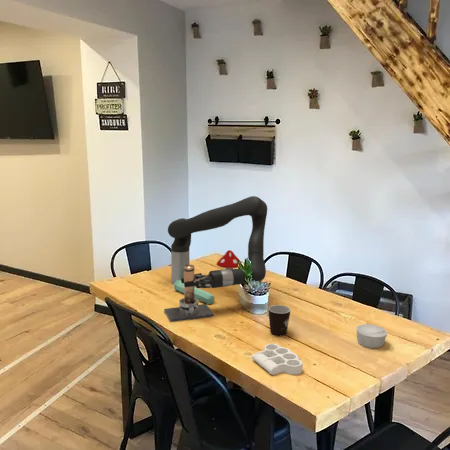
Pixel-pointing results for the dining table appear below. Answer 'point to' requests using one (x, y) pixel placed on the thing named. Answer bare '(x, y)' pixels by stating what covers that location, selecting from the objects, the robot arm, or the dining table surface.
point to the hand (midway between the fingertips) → (183, 282)
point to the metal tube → (189, 291)
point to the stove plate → (181, 317)
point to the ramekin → (371, 335)
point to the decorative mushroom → (228, 260)
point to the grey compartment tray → (278, 360)
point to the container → (196, 293)
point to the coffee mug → (279, 319)
